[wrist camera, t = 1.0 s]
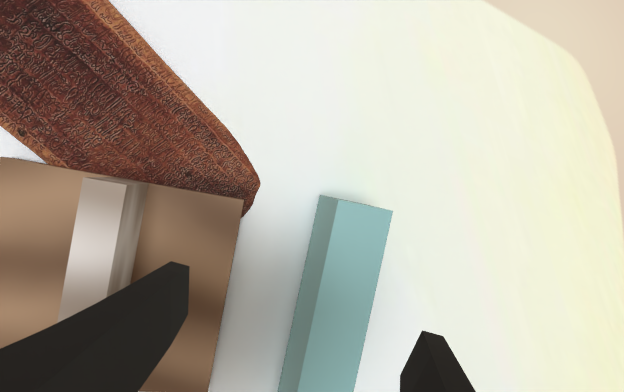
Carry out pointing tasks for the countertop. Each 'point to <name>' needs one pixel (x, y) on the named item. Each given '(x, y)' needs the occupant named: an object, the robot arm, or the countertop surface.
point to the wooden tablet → (110, 101)
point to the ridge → (112, 255)
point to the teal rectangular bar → (335, 297)
